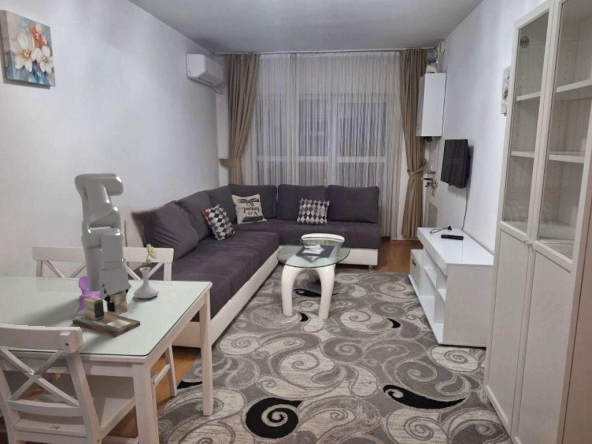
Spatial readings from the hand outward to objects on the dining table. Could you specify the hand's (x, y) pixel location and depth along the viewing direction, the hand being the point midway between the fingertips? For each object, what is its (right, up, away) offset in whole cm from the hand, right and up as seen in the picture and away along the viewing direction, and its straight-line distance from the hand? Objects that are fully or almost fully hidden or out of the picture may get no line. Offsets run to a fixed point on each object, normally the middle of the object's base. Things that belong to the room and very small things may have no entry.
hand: (117, 308), depth 161 cm
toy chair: (-20, -5, +20) cm, 28 cm away
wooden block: (0, -1, 0) cm, 1 cm away
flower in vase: (-1, -2, +36) cm, 36 cm away
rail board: (-6, -7, +5) cm, 11 cm away
